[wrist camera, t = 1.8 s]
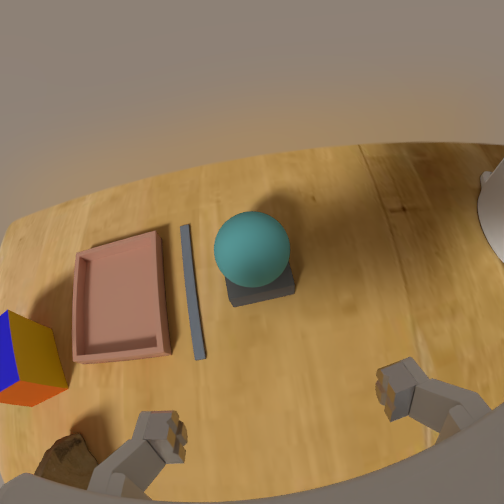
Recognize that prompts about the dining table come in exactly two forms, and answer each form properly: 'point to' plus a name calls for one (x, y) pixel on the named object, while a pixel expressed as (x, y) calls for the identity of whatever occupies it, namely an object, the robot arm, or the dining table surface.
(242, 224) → the ball
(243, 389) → the dining table surface
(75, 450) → the rock
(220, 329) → the dining table surface
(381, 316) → the dining table surface
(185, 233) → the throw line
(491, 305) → the dining table surface
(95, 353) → the tray
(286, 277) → the grey square frame
